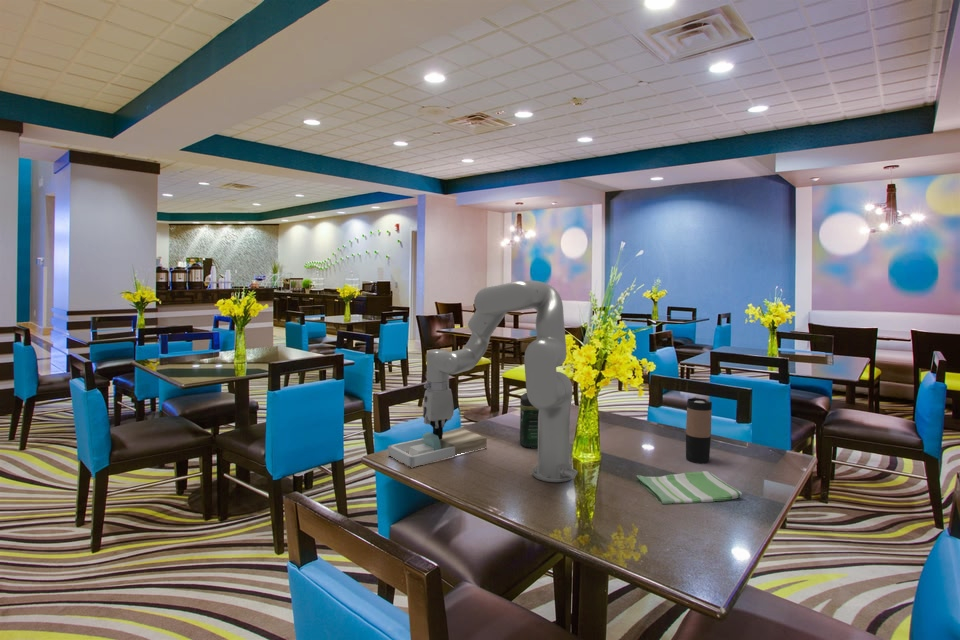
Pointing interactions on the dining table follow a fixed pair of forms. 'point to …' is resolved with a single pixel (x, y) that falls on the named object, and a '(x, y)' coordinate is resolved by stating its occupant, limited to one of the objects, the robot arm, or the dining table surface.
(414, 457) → the tray
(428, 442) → the teal tile
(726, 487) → the dish towel
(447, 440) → the birch board
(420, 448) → the white tile
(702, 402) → the travel mug
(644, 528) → the dining table surface
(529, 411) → the coffee jar
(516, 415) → the dining table surface
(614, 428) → the dining table surface
